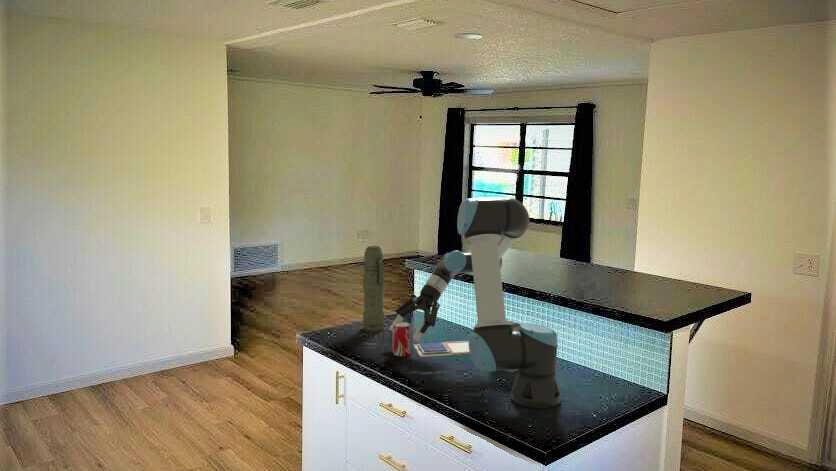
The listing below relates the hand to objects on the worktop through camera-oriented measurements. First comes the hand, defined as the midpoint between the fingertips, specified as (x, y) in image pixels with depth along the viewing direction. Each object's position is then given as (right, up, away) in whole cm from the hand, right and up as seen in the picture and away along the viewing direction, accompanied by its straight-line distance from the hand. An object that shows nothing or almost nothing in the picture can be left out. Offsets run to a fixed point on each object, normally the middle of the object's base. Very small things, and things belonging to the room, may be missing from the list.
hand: (403, 335), depth 233 cm
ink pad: (+11, -6, +4) cm, 14 cm away
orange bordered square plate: (+23, -6, +7) cm, 25 cm away
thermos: (-13, -2, +32) cm, 34 cm away
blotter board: (+18, -7, +6) cm, 20 cm away
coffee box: (+37, -10, -12) cm, 40 cm away
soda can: (0, -8, 0) cm, 8 cm away
